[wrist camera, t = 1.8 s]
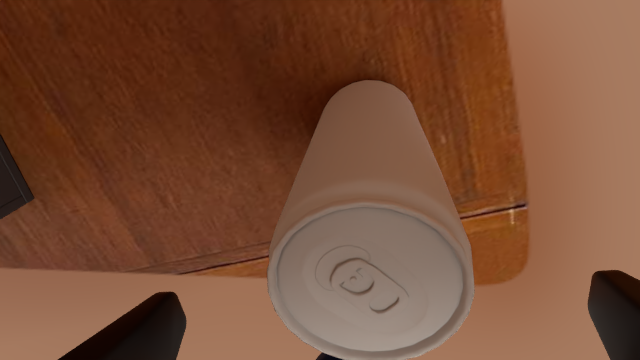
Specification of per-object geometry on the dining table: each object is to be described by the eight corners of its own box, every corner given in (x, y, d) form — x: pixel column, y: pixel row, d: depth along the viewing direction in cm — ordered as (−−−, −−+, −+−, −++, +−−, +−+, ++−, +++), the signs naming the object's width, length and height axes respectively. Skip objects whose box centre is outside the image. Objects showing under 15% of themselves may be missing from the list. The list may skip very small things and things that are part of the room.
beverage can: (365, 55, 18) (358, 147, 7) (439, 122, 19) (532, 293, 8) (302, 129, 20) (220, 291, 9) (371, 186, 21) (373, 395, 10)
